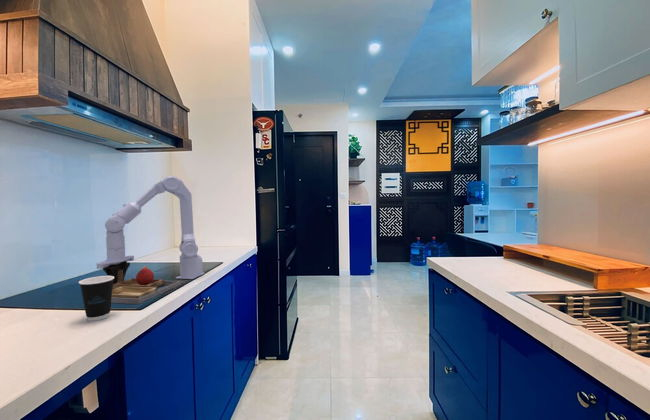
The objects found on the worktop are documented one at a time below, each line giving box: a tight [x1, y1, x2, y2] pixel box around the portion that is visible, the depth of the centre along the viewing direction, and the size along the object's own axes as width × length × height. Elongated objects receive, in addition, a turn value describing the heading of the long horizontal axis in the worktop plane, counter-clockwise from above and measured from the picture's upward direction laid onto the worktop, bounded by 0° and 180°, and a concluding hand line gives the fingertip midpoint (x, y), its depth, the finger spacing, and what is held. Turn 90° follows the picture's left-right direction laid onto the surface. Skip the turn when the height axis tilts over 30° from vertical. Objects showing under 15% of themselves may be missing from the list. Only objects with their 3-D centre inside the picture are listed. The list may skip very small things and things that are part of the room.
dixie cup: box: [78, 275, 114, 322], centre depth 81 cm, size 8×8×11 cm
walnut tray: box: [113, 269, 165, 290], centre depth 109 cm, size 9×18×6 cm, turn 81°
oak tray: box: [112, 286, 158, 298], centre depth 98 cm, size 9×18×6 cm, turn 81°
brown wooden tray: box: [111, 280, 182, 305], centre depth 103 cm, size 21×15×2 cm
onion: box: [135, 265, 155, 285], centre depth 108 cm, size 6×6×8 cm
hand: (117, 282), depth 110 cm, fingers closed on walnut tray, 2 cm apart
